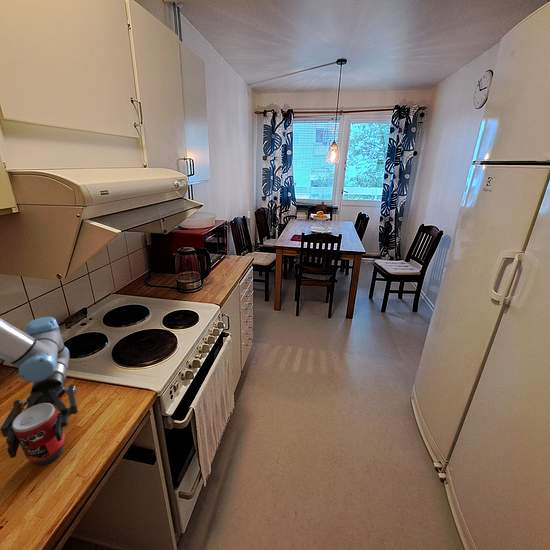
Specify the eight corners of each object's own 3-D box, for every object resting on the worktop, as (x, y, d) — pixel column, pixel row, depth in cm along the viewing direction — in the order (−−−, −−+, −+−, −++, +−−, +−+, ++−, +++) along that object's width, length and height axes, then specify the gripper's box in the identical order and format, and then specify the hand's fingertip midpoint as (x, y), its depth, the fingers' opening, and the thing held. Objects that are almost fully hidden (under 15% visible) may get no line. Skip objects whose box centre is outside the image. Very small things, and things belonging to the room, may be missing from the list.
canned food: (18, 458, 70) (2, 426, 65) (49, 430, 77) (37, 399, 73) (43, 466, 68) (29, 433, 64) (72, 437, 75) (61, 405, 71)
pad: (28, 465, 70) (26, 462, 70) (46, 443, 76) (45, 440, 76) (52, 466, 70) (51, 463, 70) (69, 443, 76) (67, 440, 76)
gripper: (93, 380, 90) (91, 436, 72) (8, 405, 81) (-19, 477, 63) (87, 360, 88) (84, 415, 69) (-1, 384, 78) (-33, 454, 60)
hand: (35, 444), depth 66 cm, fingers closed on canned food, 8 cm apart
